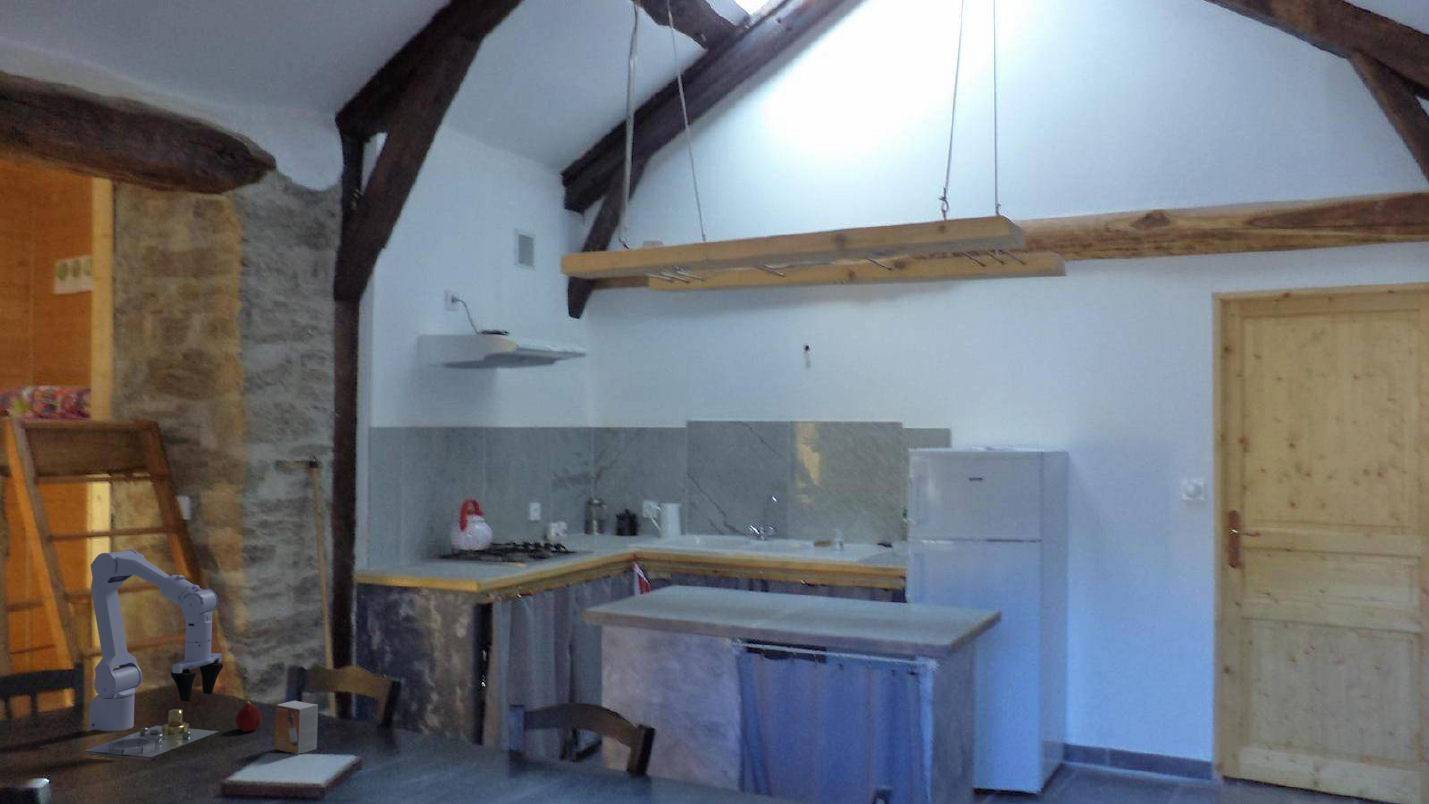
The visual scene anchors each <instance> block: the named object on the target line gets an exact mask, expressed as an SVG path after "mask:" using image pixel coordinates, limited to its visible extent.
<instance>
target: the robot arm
mask: <svg viewBox="0 0 1429 804" xmlns="http://www.w3.org/2000/svg"><path fill="white" fill-rule="evenodd" d="M90 571H91V577H92V579H91V584H90V585H91V586H90V591H91V596H92V601H93V609H94V615H95V620H96V621H95V622H96V627H97V633H98V640H99V644H100V650H101V657H102V658H101V659H100V661H99V662H98V663H97V665H96V666H95V667H94V675H95V678H94V680H93V681H94V682H93V687H94V690H95V692H96V694H97V695H95V696H94V697H93V698H92V700H91V702H90V704H89V722H88V723H89V725H88V730H86V732H90V731H94V730H97V731H102V732H120V731H127V730H129V729H132V728H134V726H135V725H134V724H135V722H134V721H135V693H137V689H138V687H139V686H140V685H141V684H142V681H143V673H142V670H141V667H140V666H139V664H138V661H137V658H136V656H133V655H132V654H131V653H129V652H128V647H127V641H126V636H125V634H126V633H125V628H124V622H123V616H122V611H121V605H120V604H121V603H120V599H119V593H118V590H119V589H120V588H121V586H122V585H123V583H124V582H126V581H127V580H129V579H130V578H132V577H133V576H136V577H138V578H140V579H141V580H144V581H146V582H148V583H150V584H151V585H154V586H155V587H157V588H159V589H160V594H161V595H162V596H163V597H165V598H167V599H168V600H170V601H171V602H173V603H174V604H176V605H178V606H180V609H181V611H182V613H183V615H184V621H185V645H184V646H185V647H184V648H185V649H184V659H182V660H181V661H178V662H177V663H173V664H172V671H171V672H170V677H171V678H172V679H173V681H174V683H175V685H176V688H177V690H178V694H179V699H180V702H190V701H191V697H192V689H193V683H194V681H195V678H196V675H197V673H196V672H191V670H192V669H196V668H199V671H200V674H201V679H202V680H201V682H202V683H201V686H202V687H201V690H202V693H203V694H205V695H211V694H213V692H214V688H215V685H216V681H217V678H218V676H219V674H220V673H221V671H222V669H223V667H224V663H222V660H223V659H222V658H223V655H222V654H223V653H220V652H218V653H217V652H215V653H212V637H213V635H212V634H213V612H214V611H215V610H216V609H217V607H218V605H219V597H218V595H217V593H216V592H215V591H214V590H213V589H212V588H200V585H198V584H193V583H192V582H190V581H189V580H186V577H185V576H184V575H183V574H179V575H178V574H173V575H171V576H170V575H169V574H167V573H166V572H164V571H163V570H161V569H160V568H159V567H157V566H155V564H153V563H151V562H150V561H149V560H147V559H146V558H145V555H144V554H142V553H140V552H138V551H136V550H135V549H130V548H129V549H126V550H120V551H119V550H118V551H113V552H102V553H99V554H98V555H97V556H95V558H94V559H93V561H92V562H91V563H90Z"/></svg>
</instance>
